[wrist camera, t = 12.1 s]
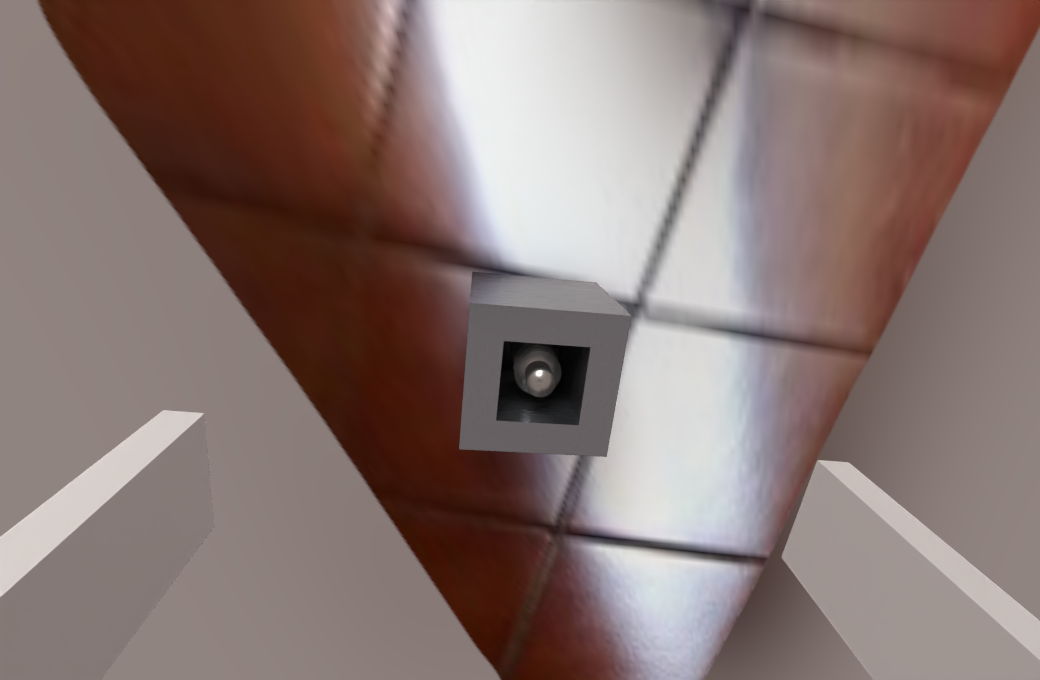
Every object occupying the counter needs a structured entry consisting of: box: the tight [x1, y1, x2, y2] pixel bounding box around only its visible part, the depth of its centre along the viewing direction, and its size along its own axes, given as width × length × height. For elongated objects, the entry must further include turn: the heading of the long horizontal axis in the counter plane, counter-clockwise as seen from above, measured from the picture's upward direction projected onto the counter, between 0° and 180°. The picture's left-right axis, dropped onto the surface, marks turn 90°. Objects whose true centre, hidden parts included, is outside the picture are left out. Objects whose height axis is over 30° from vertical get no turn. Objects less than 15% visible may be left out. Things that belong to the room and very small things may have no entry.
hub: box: [501, 341, 561, 397], centre depth 30 cm, size 7×7×8 cm
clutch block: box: [459, 272, 631, 457], centre depth 30 cm, size 8×8×8 cm
